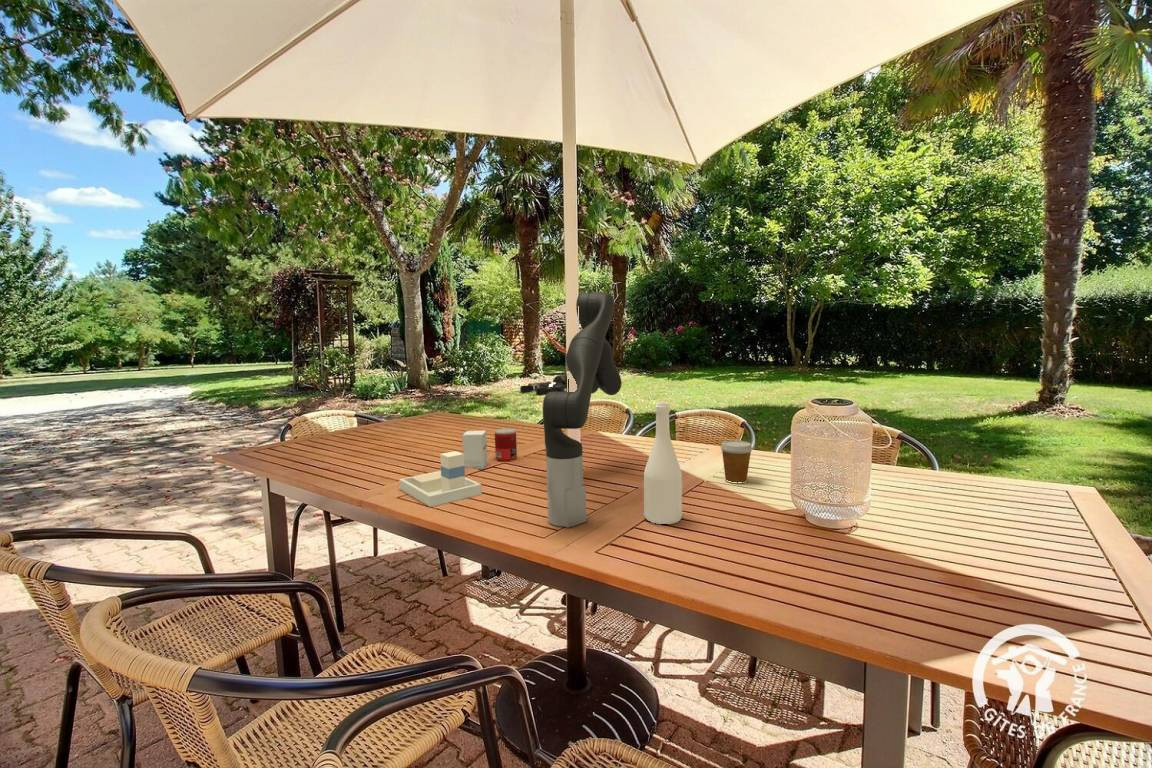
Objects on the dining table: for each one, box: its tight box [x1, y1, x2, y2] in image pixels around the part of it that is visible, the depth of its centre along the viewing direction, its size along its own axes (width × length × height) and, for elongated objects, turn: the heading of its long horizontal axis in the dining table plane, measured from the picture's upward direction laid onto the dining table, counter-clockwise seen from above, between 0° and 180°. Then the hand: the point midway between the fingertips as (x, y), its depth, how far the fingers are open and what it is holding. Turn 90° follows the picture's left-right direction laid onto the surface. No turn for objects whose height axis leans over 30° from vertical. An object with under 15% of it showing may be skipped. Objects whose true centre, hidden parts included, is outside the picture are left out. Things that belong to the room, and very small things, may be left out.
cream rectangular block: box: [411, 471, 442, 493], centre depth 162 cm, size 7×10×4 cm
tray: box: [398, 470, 483, 508], centre depth 159 cm, size 22×16×4 cm
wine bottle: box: [643, 401, 683, 525], centre depth 134 cm, size 10×10×30 cm
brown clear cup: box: [720, 439, 753, 483], centre depth 165 cm, size 10×10×12 cm
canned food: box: [494, 428, 518, 462], centre depth 198 cm, size 8×8×11 cm
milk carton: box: [439, 450, 466, 492], centre depth 156 cm, size 5×5×12 cm
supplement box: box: [461, 430, 488, 470], centre depth 188 cm, size 7×7×13 cm
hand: (528, 390), depth 162 cm, fingers open, 8 cm apart
